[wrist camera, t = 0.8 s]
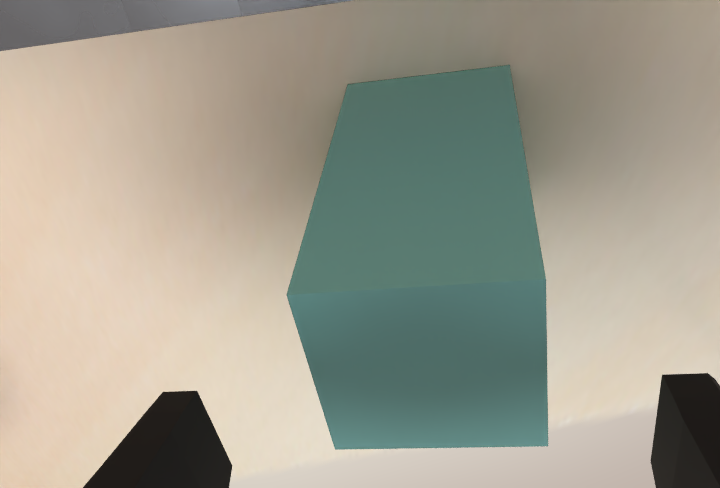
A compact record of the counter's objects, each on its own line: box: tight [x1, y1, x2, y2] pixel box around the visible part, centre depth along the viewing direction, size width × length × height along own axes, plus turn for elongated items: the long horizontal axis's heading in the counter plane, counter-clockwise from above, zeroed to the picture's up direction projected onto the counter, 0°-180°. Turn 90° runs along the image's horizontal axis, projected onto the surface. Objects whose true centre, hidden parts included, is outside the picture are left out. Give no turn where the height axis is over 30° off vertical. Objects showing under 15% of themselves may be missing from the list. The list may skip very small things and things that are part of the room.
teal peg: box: [287, 65, 548, 449], centre depth 15 cm, size 4×4×8 cm
